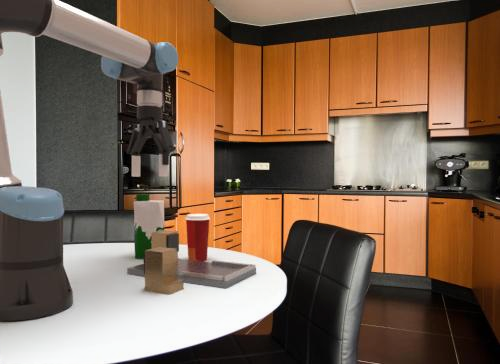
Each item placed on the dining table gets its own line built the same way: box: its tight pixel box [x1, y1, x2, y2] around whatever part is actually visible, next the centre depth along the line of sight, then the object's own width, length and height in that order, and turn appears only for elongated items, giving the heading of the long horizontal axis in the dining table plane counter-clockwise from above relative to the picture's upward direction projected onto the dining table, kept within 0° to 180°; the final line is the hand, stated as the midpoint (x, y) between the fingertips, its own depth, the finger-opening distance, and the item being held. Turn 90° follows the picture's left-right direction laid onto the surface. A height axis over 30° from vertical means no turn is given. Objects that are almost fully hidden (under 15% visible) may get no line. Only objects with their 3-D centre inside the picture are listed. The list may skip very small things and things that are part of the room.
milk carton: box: [133, 193, 165, 260], centre depth 127 cm, size 9×9×20 cm
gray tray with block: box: [126, 229, 257, 289], centre depth 104 cm, size 16×30×10 cm, turn 63°
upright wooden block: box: [143, 247, 185, 295], centre depth 90 cm, size 5×8×9 cm, turn 63°
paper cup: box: [184, 213, 211, 262], centre depth 122 cm, size 8×8×14 cm
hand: (149, 176), depth 120 cm, fingers open, 13 cm apart
